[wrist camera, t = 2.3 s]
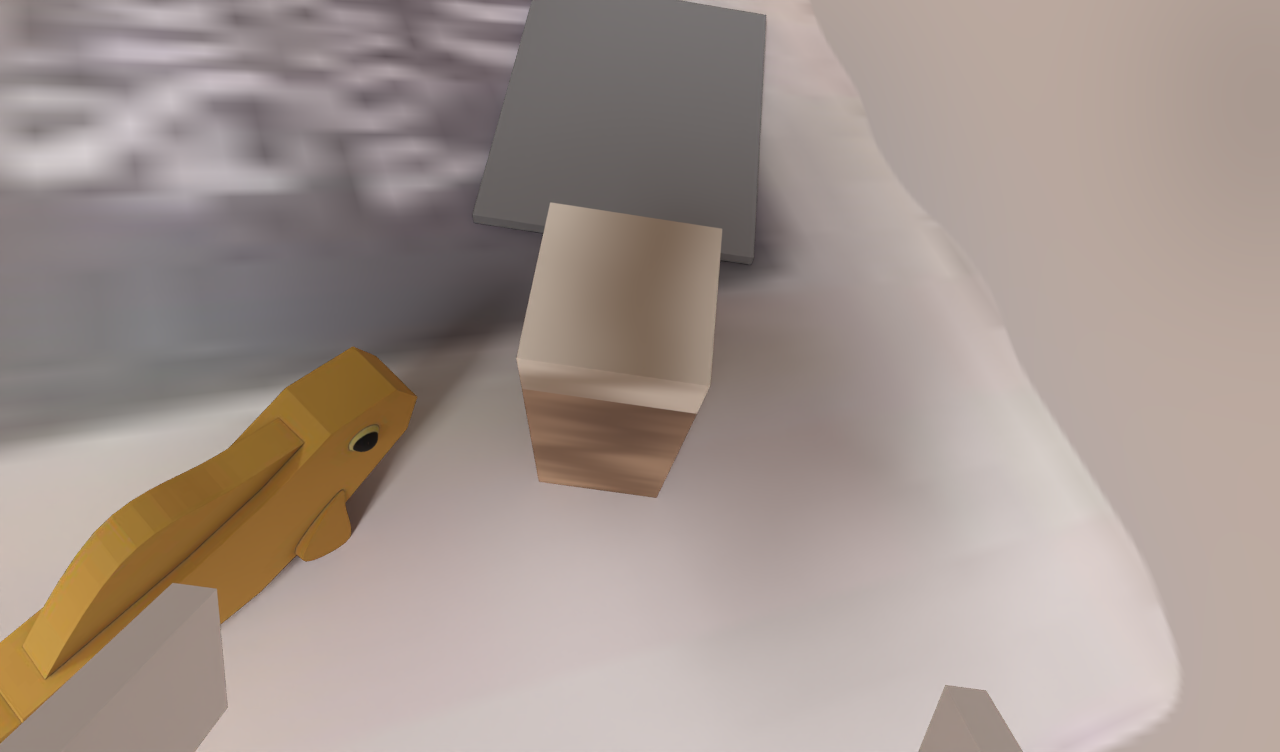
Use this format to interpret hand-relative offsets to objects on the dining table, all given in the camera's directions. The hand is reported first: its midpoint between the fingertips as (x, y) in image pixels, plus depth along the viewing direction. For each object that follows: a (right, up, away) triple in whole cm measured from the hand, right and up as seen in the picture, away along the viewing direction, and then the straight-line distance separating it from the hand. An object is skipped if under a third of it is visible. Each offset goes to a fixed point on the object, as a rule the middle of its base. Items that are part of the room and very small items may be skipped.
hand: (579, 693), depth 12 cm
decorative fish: (-15, -4, +12) cm, 20 cm away
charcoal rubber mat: (+1, +21, +25) cm, 32 cm away
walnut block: (0, +3, +17) cm, 17 cm away
